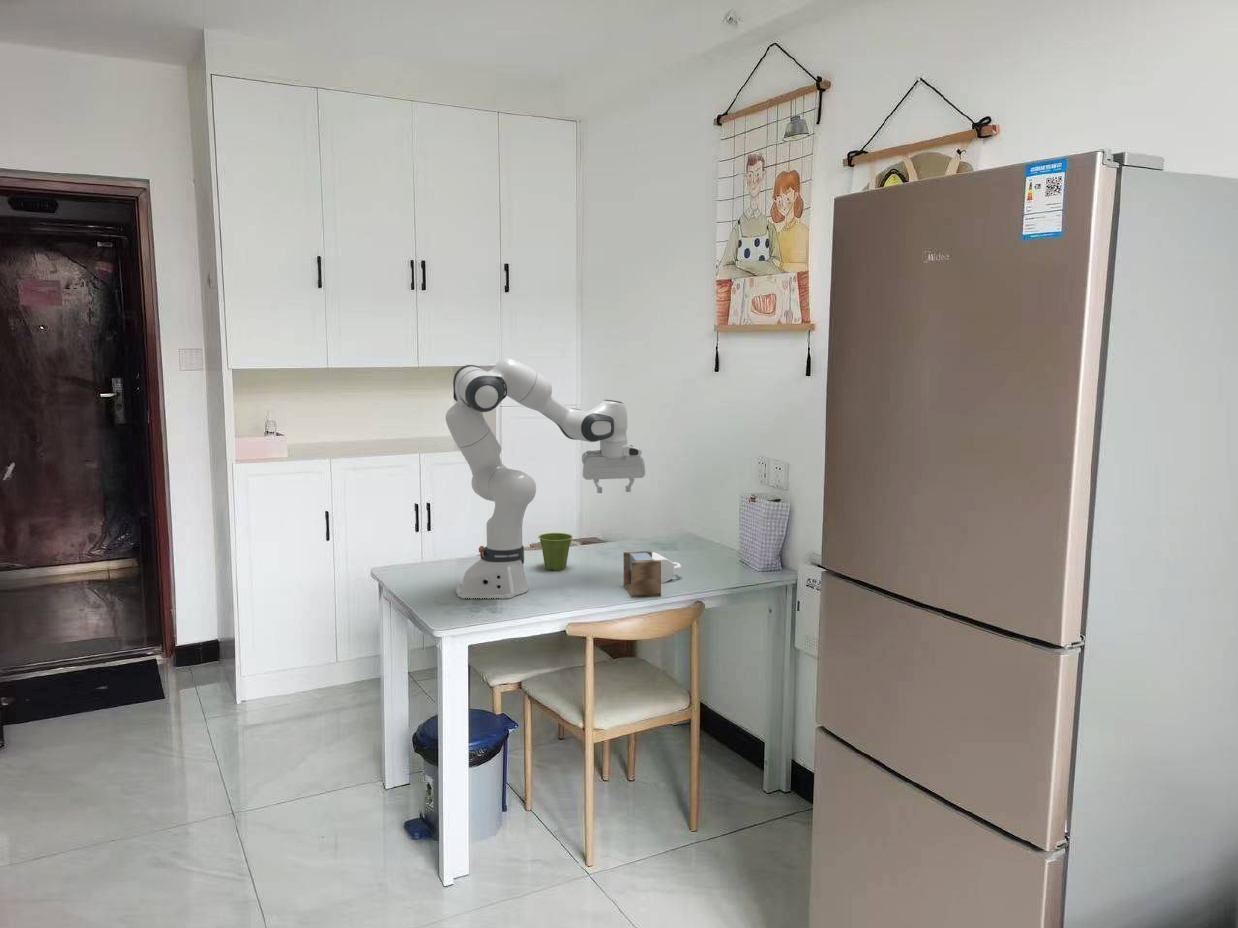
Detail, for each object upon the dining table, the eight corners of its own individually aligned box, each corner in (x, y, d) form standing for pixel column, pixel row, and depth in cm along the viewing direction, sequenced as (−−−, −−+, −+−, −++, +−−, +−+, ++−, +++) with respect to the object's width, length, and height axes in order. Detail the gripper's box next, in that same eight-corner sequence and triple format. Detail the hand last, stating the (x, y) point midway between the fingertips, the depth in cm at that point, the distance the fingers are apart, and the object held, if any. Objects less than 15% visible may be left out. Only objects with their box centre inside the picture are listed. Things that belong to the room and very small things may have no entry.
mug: (652, 584, 292) (652, 560, 291) (640, 576, 301) (640, 553, 300) (685, 580, 296) (685, 556, 295) (672, 572, 305) (673, 549, 304)
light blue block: (636, 576, 278) (636, 560, 278) (629, 568, 288) (629, 553, 287) (653, 575, 279) (653, 559, 279) (646, 567, 289) (646, 552, 288)
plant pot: (557, 574, 304) (557, 541, 302) (531, 569, 311) (531, 537, 309) (580, 567, 313) (579, 535, 311) (554, 562, 320) (553, 531, 318)
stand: (632, 597, 277) (632, 562, 275) (623, 585, 290) (623, 552, 288) (660, 595, 279) (661, 561, 277) (650, 584, 292) (651, 550, 290)
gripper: (583, 452, 286) (583, 495, 288) (646, 450, 290) (646, 492, 292) (580, 449, 292) (580, 491, 294) (642, 447, 296) (642, 489, 298)
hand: (613, 492), depth 293 cm, fingers open, 8 cm apart
